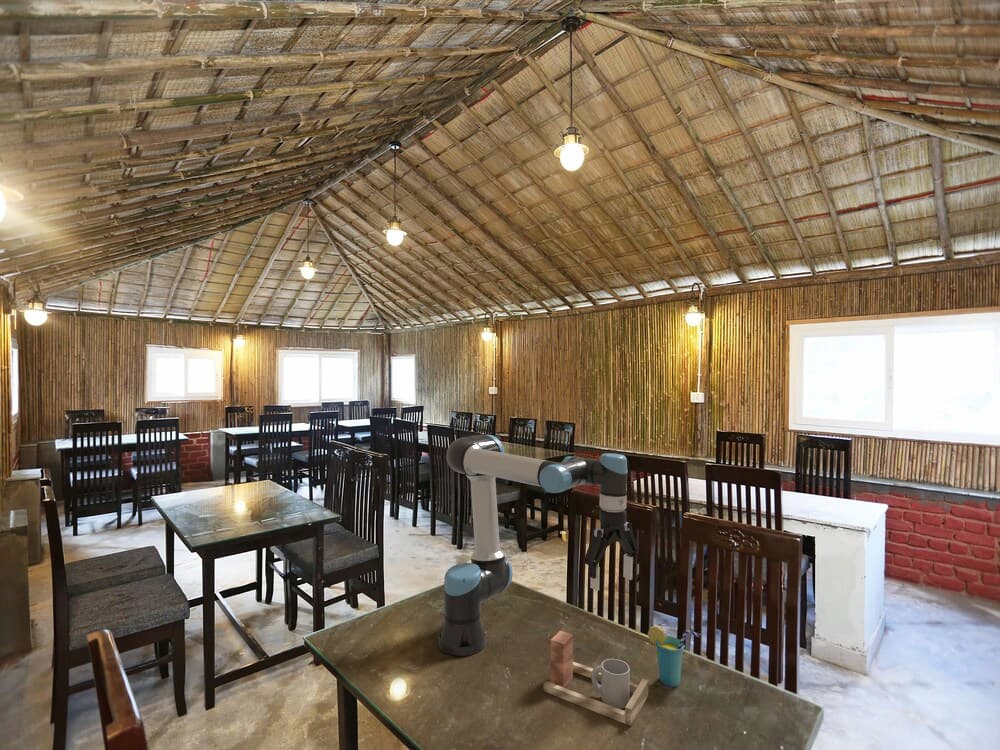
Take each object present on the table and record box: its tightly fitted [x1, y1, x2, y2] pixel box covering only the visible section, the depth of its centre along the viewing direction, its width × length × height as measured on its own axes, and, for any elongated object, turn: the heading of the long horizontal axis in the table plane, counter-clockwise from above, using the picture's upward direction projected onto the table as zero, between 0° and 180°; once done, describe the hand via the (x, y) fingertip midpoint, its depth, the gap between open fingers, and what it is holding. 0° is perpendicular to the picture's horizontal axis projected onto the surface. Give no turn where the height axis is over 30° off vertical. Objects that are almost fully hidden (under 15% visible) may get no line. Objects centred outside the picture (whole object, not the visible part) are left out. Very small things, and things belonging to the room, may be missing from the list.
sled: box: [543, 630, 649, 727], centre depth 131 cm, size 24×14×12 cm, turn 57°
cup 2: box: [647, 626, 701, 688], centre depth 136 cm, size 14×8×15 cm, turn 70°
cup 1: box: [590, 658, 631, 710], centre depth 128 cm, size 7×10×9 cm
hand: (611, 583), depth 139 cm, fingers open, 13 cm apart
